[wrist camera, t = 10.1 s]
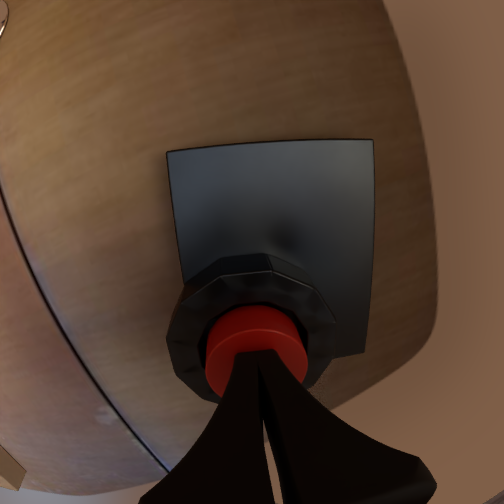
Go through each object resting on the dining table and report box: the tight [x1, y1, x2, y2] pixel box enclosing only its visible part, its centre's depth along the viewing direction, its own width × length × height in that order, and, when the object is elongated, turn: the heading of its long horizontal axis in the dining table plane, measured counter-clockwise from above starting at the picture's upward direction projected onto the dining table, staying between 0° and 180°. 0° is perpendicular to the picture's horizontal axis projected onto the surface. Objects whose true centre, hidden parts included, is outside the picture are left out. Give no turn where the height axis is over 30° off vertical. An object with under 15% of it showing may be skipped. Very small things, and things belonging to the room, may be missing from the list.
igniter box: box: [166, 139, 375, 404], centre depth 13 cm, size 11×9×4 cm
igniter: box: [205, 305, 308, 398], centre depth 11 cm, size 4×4×2 cm
